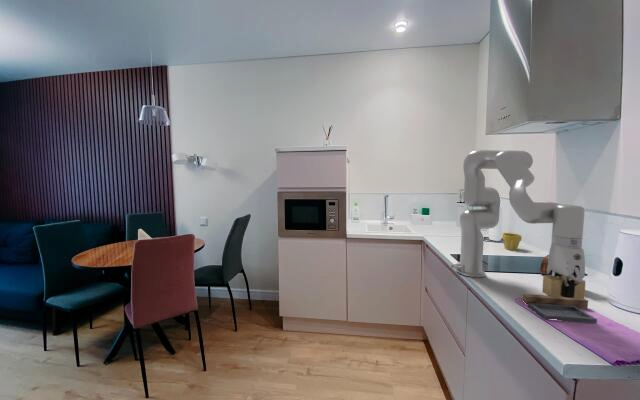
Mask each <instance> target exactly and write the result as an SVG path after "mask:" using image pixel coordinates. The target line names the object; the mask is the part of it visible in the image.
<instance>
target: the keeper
mask: <svg viewBox="0 0 640 400" xmlns="http://www.w3.org/2000/svg"><path fill="white" fill-rule="evenodd" d="M527 308H529V309H530V308H531V309H532V310H531V309H530V310H531V311H532V312H534V311H535V312H536V313H535V312H534V313H535V314H537V315H538V316H539V317H540V318H542V319H543V320H545V321H549V320H548V319H557V320H562V321H561V322H566V321H568V322H569V323H580V324H582V323H583V324H584V323H585V324H594V323H598V318H596V317H594V316H593V315H591V314H589V313H588V312H586V311H584V310H582V308H577V307H576V306H569V305H553V304H537V303H528V305H527ZM568 322H567V323H568Z"/></svg>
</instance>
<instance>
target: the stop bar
mask: <svg viewBox="0 0 640 400" xmlns="http://www.w3.org/2000/svg"><path fill="white" fill-rule="evenodd" d="M542 275H543V276H542V277H543V278H542V291H541V292H542V293H544V295H548V296H550V297H561V298H566V297H563V296H562V291H563V285H565V283H564V276H552V275H549V274H548V275H545V274H542ZM570 280H572V279H569V281H570ZM586 282H587V281H586V280H584V279H583V283H579V284H578V285H577V286H576V287H575V292H574V298H578V299H585V291H586Z"/></svg>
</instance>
